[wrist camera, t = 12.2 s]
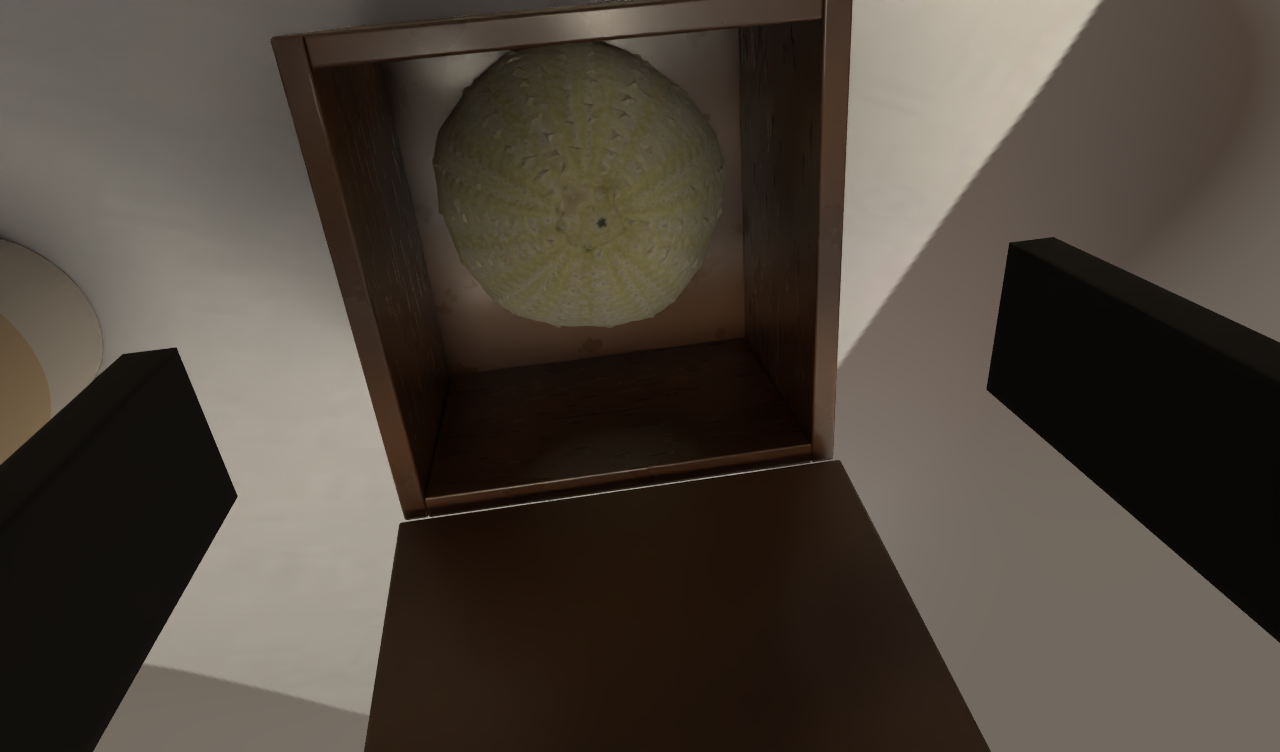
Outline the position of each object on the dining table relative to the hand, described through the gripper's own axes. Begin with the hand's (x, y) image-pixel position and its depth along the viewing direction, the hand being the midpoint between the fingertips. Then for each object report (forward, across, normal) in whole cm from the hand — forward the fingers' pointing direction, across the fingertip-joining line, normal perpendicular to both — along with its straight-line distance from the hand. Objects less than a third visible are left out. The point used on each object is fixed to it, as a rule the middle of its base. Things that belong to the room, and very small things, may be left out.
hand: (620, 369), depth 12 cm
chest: (+16, 0, -2) cm, 16 cm away
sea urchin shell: (+16, 0, 0) cm, 16 cm away
